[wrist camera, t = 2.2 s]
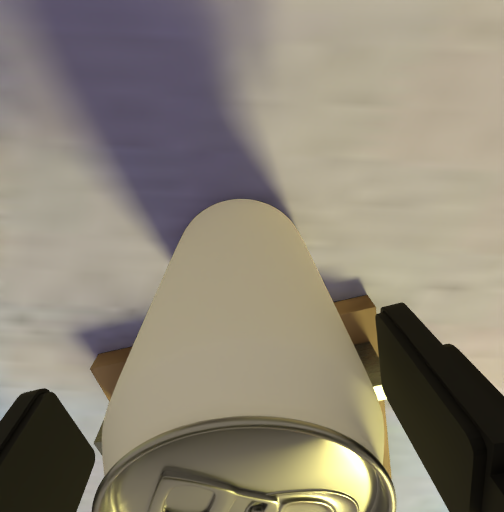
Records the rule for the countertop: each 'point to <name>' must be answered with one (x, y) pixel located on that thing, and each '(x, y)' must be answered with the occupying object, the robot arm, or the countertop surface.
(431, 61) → the countertop surface
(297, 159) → the countertop surface
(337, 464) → the can
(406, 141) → the countertop surface
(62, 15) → the countertop surface
